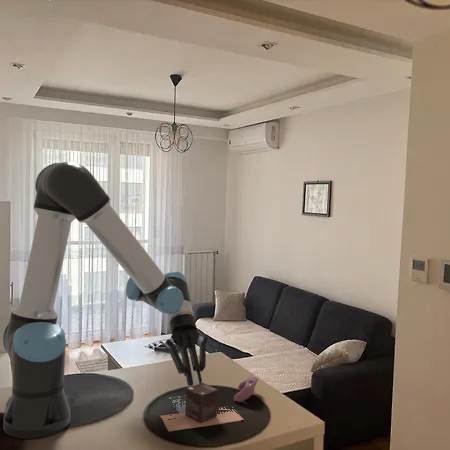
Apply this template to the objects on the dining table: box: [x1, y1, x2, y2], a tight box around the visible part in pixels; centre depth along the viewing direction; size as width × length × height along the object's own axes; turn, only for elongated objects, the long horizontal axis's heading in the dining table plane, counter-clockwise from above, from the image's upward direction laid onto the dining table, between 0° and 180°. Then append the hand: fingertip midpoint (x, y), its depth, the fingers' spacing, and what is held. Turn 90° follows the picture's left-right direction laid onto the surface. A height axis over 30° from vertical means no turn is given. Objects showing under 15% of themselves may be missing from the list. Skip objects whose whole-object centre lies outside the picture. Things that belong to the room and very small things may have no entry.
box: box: [185, 382, 219, 423], centre depth 121 cm, size 6×6×7 cm
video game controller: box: [233, 375, 259, 403], centre depth 135 cm, size 10×5×7 cm, turn 169°
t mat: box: [159, 395, 244, 433], centre depth 125 cm, size 18×20×1 cm
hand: (197, 396), depth 126 cm, fingers closed
